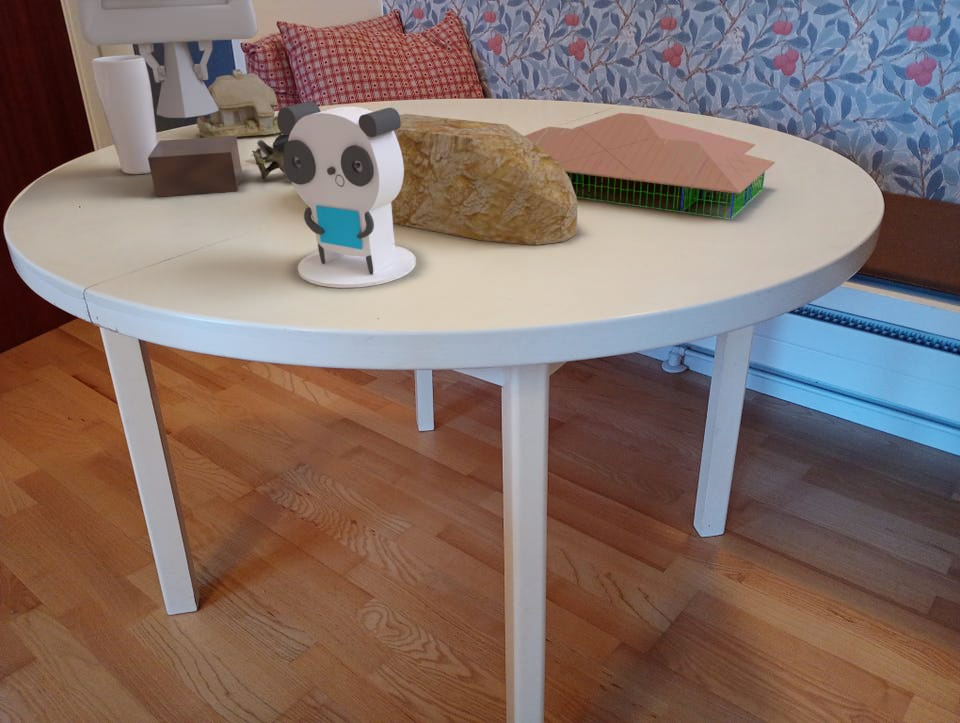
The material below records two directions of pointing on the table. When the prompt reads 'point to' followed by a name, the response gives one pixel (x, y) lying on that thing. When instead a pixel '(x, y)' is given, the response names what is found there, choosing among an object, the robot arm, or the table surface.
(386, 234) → the panda figurine
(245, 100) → the ceramic model
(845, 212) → the table surface
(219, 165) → the walnut block
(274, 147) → the eagle figurine
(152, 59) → the robot arm
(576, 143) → the house
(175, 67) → the flask
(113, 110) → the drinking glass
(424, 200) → the brown rock
